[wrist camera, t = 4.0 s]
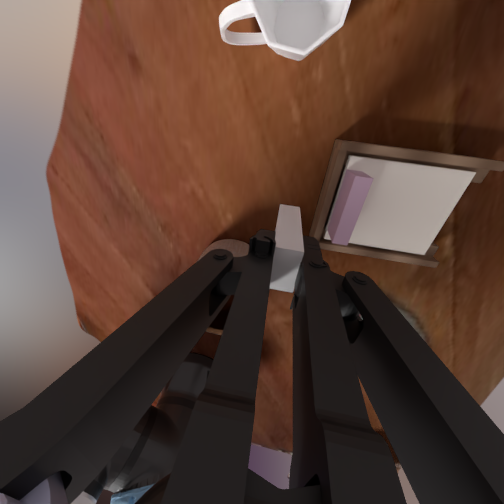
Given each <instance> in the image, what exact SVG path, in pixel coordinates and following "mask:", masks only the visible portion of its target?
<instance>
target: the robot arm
mask: <svg viewBox="0 0 504 504" xmlns="http://www.w3.org/2000/svg"><path fill="white" fill-rule="evenodd" d="M294 287H295V293H294V296H293V300H292V303H291V307H290V309H292V307H293V454H292V461H291V467H290V479H289V489H285V490H284V489H279V488H277V487H276V486H274V485H273V484H271V483H270V482H268V481H267V480H265V479H264V478H262V477H261V476H259V475H257V474H256V473H255V472H253V471H251V470H250V469H248V463H249V455H250V446H251V439H252V431H253V423H254V414H255V397H256V389H257V381H258V373H259V366H260V358H261V350H262V342H263V335H264V327H265V319H266V311H267V304H268V296H269V288H270V289H275V290H281V291H286V292H291V293H293V290H294ZM231 295H234V299H233V302H232V305H231V308H230V311H229V314H228V317H227V320H226V323H225V326H224V329H223V332H222V335H221V338H220V342H219V345H218V348H217V351H216V354H215V357H214V360H212V359H210V358H208V357H206V356H203V355H199V354H194V353H190V351H191V350H192V349H193V347H194V346H195V345H196V343H197V342H198V341H199V339H200V338H201V337H202V335H203V334H204V332H205V331H206V330H207V328H208V327H209V326H210V324H211V323H212V322H213V320H214V319H215V318H216V316H217V315H218V313H219V312H220V311H221V309H222V308H223V307H224V305H225V304H226V303H227V301H228V300H229V299H230V296H231ZM359 314H361V316H362V318H363V320H362V319H361V318H360V317H359ZM358 377H359V379H360V381H361V383H362V385H363V387H364V389H365V391H366V393H367V396H368V398H369V400H370V402H371V404H372V406H373V408H374V410H375V412H376V414H377V416H378V418H379V420H380V422H381V425H382V427H383V429H384V431H385V433H386V435H387V437H388V439H389V441H390V443H391V445H392V447H393V449H394V451H395V454H396V456H397V458H398V460H399V462H400V464H401V466H402V468H403V470H404V472H405V474H406V476H407V478H408V480H409V483H410V484H411V487H412V489H413V491H414V493H415V495H416V497H417V499H418V501H419V503H420V504H504V434H503V433H502V432H501V430H500V429H499V428H498V427H497V426H496V425H495V424H494V422H493V421H492V420H491V419H490V418H489V416H488V415H487V414H486V413H485V412H484V411H483V409H482V408H481V407H480V406H479V405H478V403H477V402H476V401H475V400H474V399H473V398H472V396H471V395H470V394H469V393H468V392H467V390H466V389H465V388H464V387H463V386H462V385H461V383H460V382H459V381H458V380H457V379H456V378H455V376H454V375H453V374H452V373H451V372H450V371H449V369H448V368H447V367H446V366H445V365H444V363H443V362H442V361H441V360H440V359H439V358H438V356H437V355H436V354H435V353H434V352H433V351H432V349H431V348H430V347H429V346H428V345H427V343H426V342H425V341H424V340H423V339H422V338H421V336H420V335H419V334H418V333H417V332H416V331H415V329H414V328H413V327H412V326H411V325H410V324H409V322H408V321H407V320H406V319H405V318H404V316H403V315H402V314H401V313H400V312H399V311H398V309H397V308H396V307H395V306H394V305H393V304H392V302H391V301H390V300H389V299H388V298H387V296H386V295H385V294H384V293H383V292H382V291H381V289H380V288H379V287H378V286H377V285H376V284H375V282H374V281H373V280H372V279H371V278H370V277H368V276H367V275H365V274H363V273H361V272H355V271H350V272H347V273H346V274H345V277H344V276H341V275H339V274H336V273H334V272H332V271H330V267H329V265H328V263H326V262H325V261H324V260H323V258H322V254H321V249H320V245H319V241H318V240H317V239H316V238H315V237H310V236H304V235H303V234H302V224H301V214H300V207H295V206H289V205H283V204H280V207H279V213H278V218H277V224H276V229H275V231H270V230H264V229H260V230H259V231H257V233H256V235H254V236H252V237H251V238H250V244H249V252H248V255H246V256H242V257H233V254H232V253H231V252H230V251H228V250H226V249H214V250H211V251H210V252H208V253H207V254H206V255H205V256H203V257H202V258H201V259H200V260H199V261H197V262H196V263H195V264H194V265H193V266H191V267H190V268H189V269H188V270H187V271H186V272H184V273H183V274H182V275H181V276H180V277H178V278H177V279H176V280H175V281H174V282H172V283H171V284H170V285H169V286H168V287H166V288H165V289H164V290H163V291H162V292H161V293H159V294H158V295H157V296H156V297H155V298H153V299H152V300H151V301H150V302H149V303H147V304H146V305H145V306H144V307H143V308H141V309H140V310H139V311H138V312H137V313H136V314H134V315H133V316H132V317H131V318H130V319H128V320H127V321H126V322H125V323H124V324H122V325H121V326H120V327H119V328H118V329H117V330H115V331H114V332H113V333H112V334H111V335H109V336H108V337H107V338H106V339H105V340H103V341H102V342H101V343H100V344H99V345H97V346H96V347H95V348H94V349H93V350H92V351H90V352H89V353H88V354H87V355H86V356H84V357H83V358H82V359H81V360H80V361H79V362H77V363H76V364H75V365H74V366H72V367H71V368H70V369H69V370H68V371H67V372H65V373H64V374H63V375H62V376H61V377H59V378H58V379H57V380H56V381H55V382H53V383H52V384H51V385H50V386H49V387H48V388H46V389H45V390H44V391H43V392H42V393H40V394H39V395H38V396H37V397H36V398H35V399H34V400H32V401H31V402H30V403H28V404H27V405H26V406H25V407H24V408H22V409H20V410H19V411H17V412H15V413H13V414H12V415H10V416H8V417H7V418H5V419H3V420H2V421H0V504H96V502H97V500H98V498H99V496H100V494H101V492H102V490H103V489H106V490H109V491H112V492H114V495H112V497H111V503H110V504H407V503H406V500H405V497H404V493H403V490H402V487H401V483H400V480H399V477H398V473H397V470H396V467H395V463H394V460H393V457H392V454H391V452H390V449H389V447H388V444H387V443H386V441H385V440H384V438H383V437H382V436H381V435H380V434H378V433H377V432H375V431H374V430H373V428H372V427H371V424H370V421H369V418H368V414H367V410H366V406H365V402H364V399H363V395H362V391H361V387H360V383H359V379H358ZM161 391H162V392H161ZM160 392H161V396H160V399H159V401H158V403H157V405H156V407H154V406H152V405H151V404H152V403H153V402H154V400H155V399H156V398H157V396H158V395H159V393H160Z"/></svg>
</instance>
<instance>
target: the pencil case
mask: <svg viewBox="0 0 504 504" xmlns="http://www.w3.org/2000/svg"><path fill="white" fill-rule="evenodd" d="M349 155H354V156H362V157H369V158H377V159H384V160H392V161H400V162H407V163H415V164H422V165H430V166H437V167H445V168H452V169H460V170H467V171H472V172H476V174H475V176H474V177H473V179H472V180H471V182H475V183H481V182H482V181H483V179H484V178H485V176H486V175H487V173H488V172H489V170H494V171H503V170H504V162H503V161H497V160H491V159H485V158H479V157H472V156H464V155H456V154H448V153H441V152H433V151H425V150H417V149H409V148H402V147H394V146H386V145H378V144H370V143H362V142H355V141H347V140H339V139H335V142H334V146H333V149H332V153H331V157H330V160H329V164H328V167H327V171H326V175H325V178H324V182H323V186H322V189H321V193H320V196H319V200H318V204H317V207H316V211H315V214H314V218H313V222H312V225H311V229H310V232H309V236H310V237H315V238H316V239H317V240H318V241H319V245H320V249H324V250H330V251H336V252H342V253H348V254H355V255H361V256H367V257H373V258H379V259H385V260H391V261H397V262H403V263H409V264H415V265H421V266H427V267H433V268H436V267H437V265H438V264H439V262H438V261H437V260H436V259H435V258H434V257H433V255H434V254H435V252H436V251H437V249H438V248H439V246H437V245H436V244H435V243H434V242H432V244H431V245H430V247H429V248H428V250H427V251H426V253H425V255H420V254H414V253H408V252H402V251H395V250H389V249H383V248H377V247H371V246H365V245H358V244H352V243H348V245H341V244H335V243H332V241H331V240H328V239H324V237H323V235H324V232H325V229H326V225H327V222H328V219H329V216H330V213H331V210H332V207H333V203H334V200H335V197H336V194H337V191H338V188H339V184H340V181H341V178H342V175H343V172H344V169H345V166H346V162H347V159H348V156H349Z"/></svg>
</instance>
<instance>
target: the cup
mask: <svg viewBox="0 0 504 504" xmlns="http://www.w3.org/2000/svg"><path fill="white" fill-rule="evenodd" d="M350 3H351V0H241V1H239V2H236V3H233V4H231V5H230V6H228V7H226V8H225V9H224V10H223V12H222V13H221V14H220V16H219V26H220V32H221V37H222V39H223V41H224V42H226V43H228V44H232V45H261V44H267V45H268V46H269V47H270V48H271V49H273V50H274V51H275V52H276V53H277V54H279V55H282V56H283V57H286V58H290V59H294V60H297V61H300V60H302V59H304V58H305V57H306V56H308V55H309V54H310V53H311V52H313V51H314V50H315V49H317V48H318V47H319V46H320V45H322V44H323V43H324V42H325V41H326V40H328V39H329V38H330V37H331V36H332V35H333V34H334V33H335V32H337V31H338V30H339V29H340V28H341V27H342V26H343V24H344V21H345V18H346V15H347V12H348V9H349V6H350ZM251 17H256V19H257V22H258V24H259V26H260V28H261V31H262V33H238V32H230V31H229V30H227V29H226V28H227V27H228V26H229V25H230V24H231V23H233V22H234V21H236V20H241V19H246V18H251Z"/></svg>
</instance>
